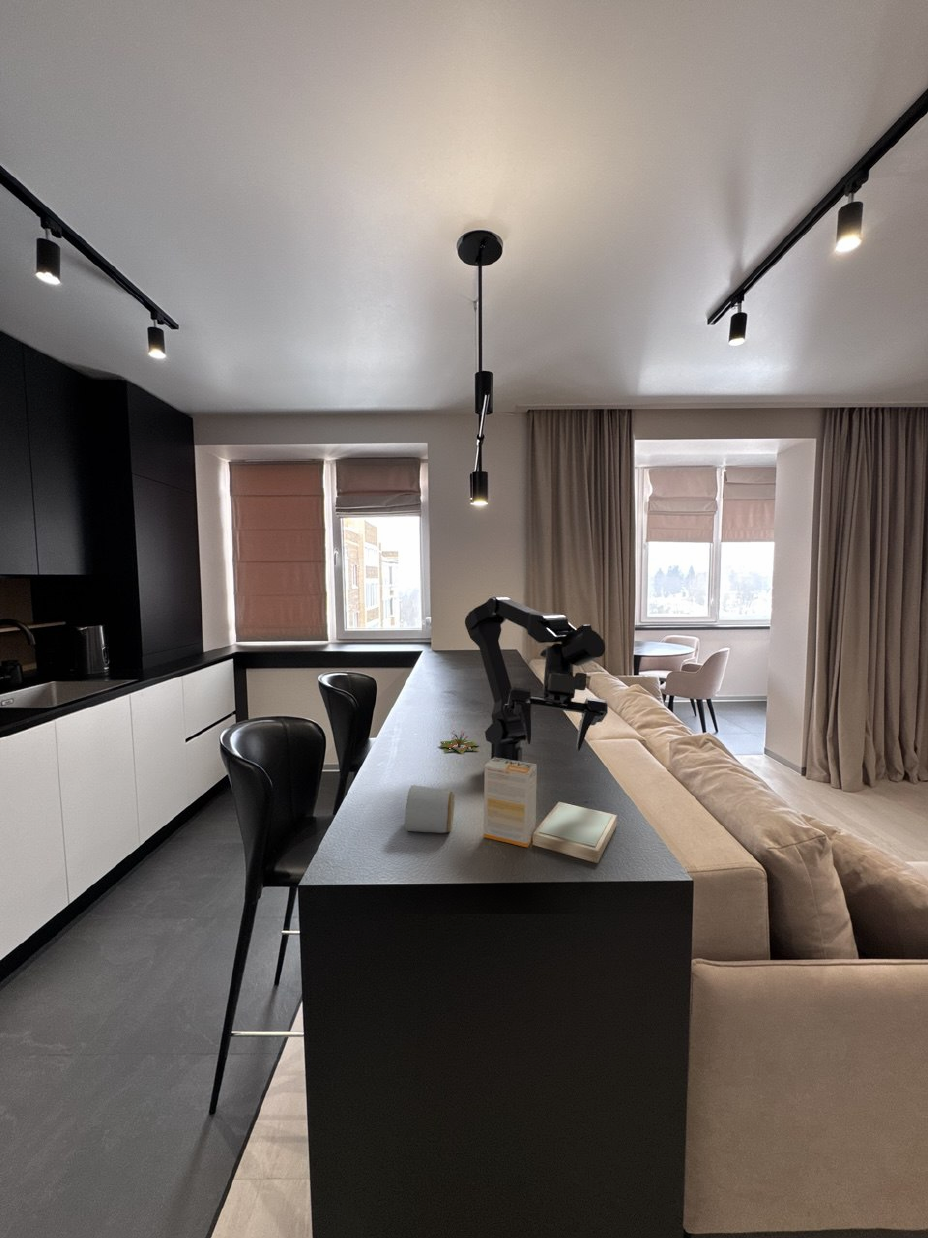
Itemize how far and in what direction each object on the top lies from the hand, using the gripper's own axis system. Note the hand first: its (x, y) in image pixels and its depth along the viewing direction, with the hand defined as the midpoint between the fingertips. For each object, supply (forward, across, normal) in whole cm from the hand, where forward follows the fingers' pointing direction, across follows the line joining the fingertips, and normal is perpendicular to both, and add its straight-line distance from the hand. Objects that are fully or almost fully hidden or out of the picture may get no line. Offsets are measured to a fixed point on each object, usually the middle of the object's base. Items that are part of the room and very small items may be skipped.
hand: (553, 747), depth 96 cm
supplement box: (+17, -6, +1) cm, 18 cm away
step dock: (+14, +5, +2) cm, 15 cm away
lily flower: (-8, -20, +39) cm, 44 cm away
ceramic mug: (+17, -21, +4) cm, 27 cm away
